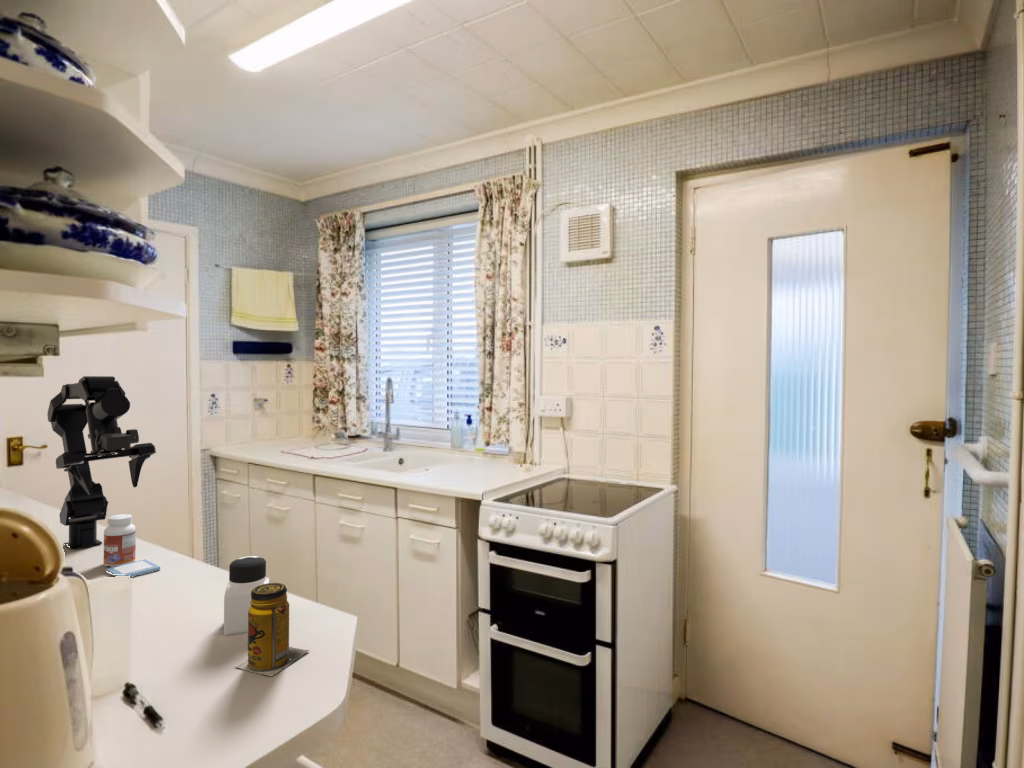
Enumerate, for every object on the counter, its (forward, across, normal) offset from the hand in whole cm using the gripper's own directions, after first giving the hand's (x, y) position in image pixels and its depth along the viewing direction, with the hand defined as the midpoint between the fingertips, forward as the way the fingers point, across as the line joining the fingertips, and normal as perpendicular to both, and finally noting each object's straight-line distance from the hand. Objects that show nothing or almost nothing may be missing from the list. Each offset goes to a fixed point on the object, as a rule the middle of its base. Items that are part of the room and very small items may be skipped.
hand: (113, 490), depth 133 cm
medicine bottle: (+34, +1, -47) cm, 58 cm away
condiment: (+38, -3, -62) cm, 72 cm away
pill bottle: (+17, 0, +3) cm, 17 cm away
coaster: (+19, 0, -5) cm, 20 cm away
